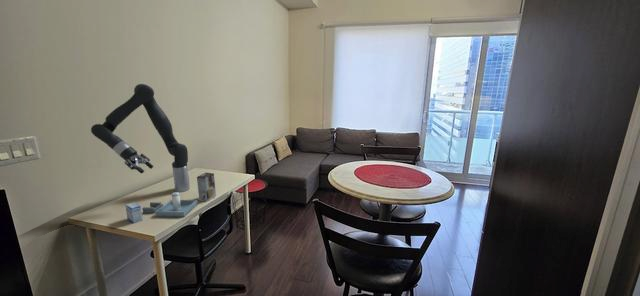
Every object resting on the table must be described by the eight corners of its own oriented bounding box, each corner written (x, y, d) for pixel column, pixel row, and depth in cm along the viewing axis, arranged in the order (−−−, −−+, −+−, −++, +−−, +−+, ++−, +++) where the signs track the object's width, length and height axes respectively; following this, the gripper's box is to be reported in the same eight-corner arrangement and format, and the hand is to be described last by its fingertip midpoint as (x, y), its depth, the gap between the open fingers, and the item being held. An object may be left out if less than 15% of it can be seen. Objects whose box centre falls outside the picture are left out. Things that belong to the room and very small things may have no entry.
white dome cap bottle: (175, 207, 160) (173, 191, 157) (182, 207, 160) (180, 192, 157) (171, 210, 156) (169, 194, 153) (178, 210, 156) (177, 194, 153)
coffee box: (207, 195, 180) (205, 172, 177) (216, 196, 179) (214, 173, 175) (198, 200, 172) (196, 176, 168) (207, 201, 170) (205, 177, 166)
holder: (151, 206, 162) (151, 202, 161) (163, 207, 162) (162, 202, 161) (143, 212, 154) (142, 208, 154) (155, 213, 154) (154, 208, 154)
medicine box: (127, 219, 147) (124, 204, 145) (136, 216, 150) (134, 201, 148) (133, 223, 143) (131, 208, 141) (143, 220, 146) (140, 205, 144)
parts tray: (171, 204, 166) (171, 199, 165) (197, 204, 166) (197, 200, 165) (155, 216, 150) (155, 211, 150) (184, 217, 150) (183, 212, 149)
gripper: (119, 149, 147) (143, 169, 150) (137, 143, 161) (159, 162, 164) (112, 158, 148) (136, 178, 151) (129, 152, 162) (151, 170, 165)
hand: (147, 169), depth 157 cm, fingers open, 8 cm apart
